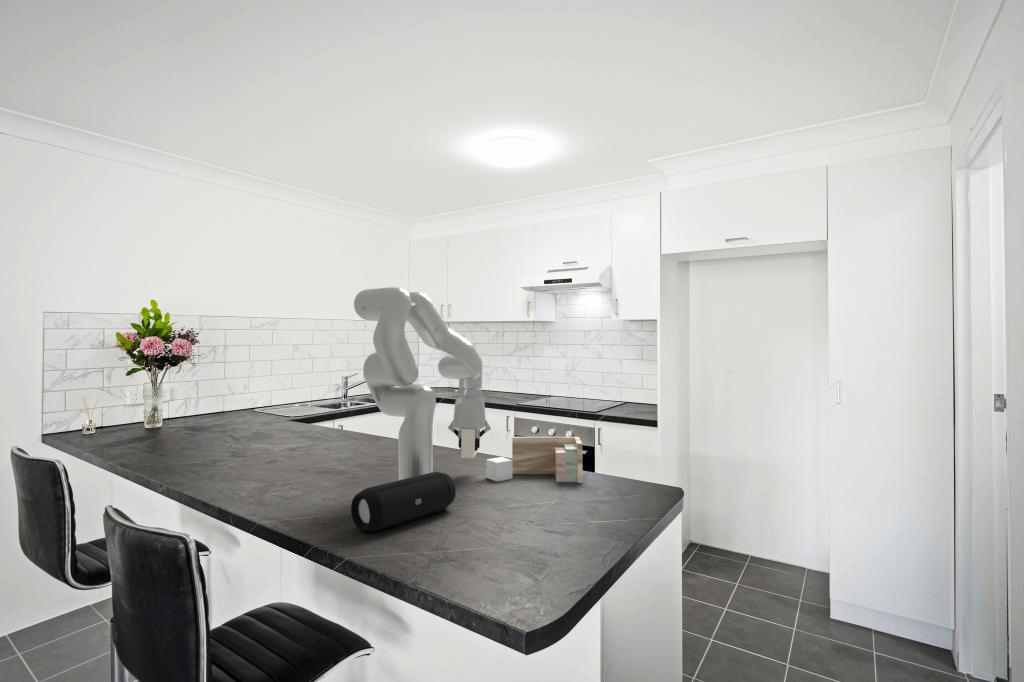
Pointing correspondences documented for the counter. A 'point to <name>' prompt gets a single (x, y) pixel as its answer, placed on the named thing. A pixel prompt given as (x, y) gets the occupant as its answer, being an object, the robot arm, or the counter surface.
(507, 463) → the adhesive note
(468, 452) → the white block
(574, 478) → the wide wooden block
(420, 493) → the portable speaker
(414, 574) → the counter surface
